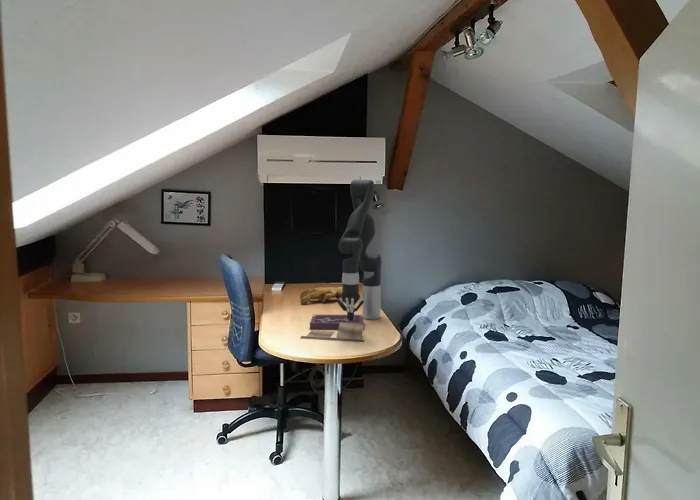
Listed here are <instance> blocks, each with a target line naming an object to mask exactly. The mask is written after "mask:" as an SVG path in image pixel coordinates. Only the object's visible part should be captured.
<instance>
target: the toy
mask: <svg viewBox="0 0 700 500" xmlns="http://www.w3.org/2000/svg"><path fill="white" fill-rule="evenodd" d="M341 295H342V285H341V286H338V287H334V286H333V287H332V286H330V287H329V286H328V287H315V288H310V289H306V290H304V291H302V292H301V293H300V304H301V305H306V304H308V302H309V301H311V300H319V299H320V301H321V303H322V304H323V303H324V302H325V301H326V300H330V299H335V298H336V299H337V300H338V299H339V298H341Z"/></svg>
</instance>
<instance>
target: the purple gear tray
mask: <svg viewBox="0 0 700 500" xmlns="http://www.w3.org/2000/svg"><path fill="white" fill-rule="evenodd" d="M364 319H365V318H364V315H363V313H362V314H360V313H359V314H357V313H354V319H353V320H352V321H349V319H347V314H318V313H317V314H316V313H315V314H314V313H313V314H312V317H311V319H310V322H309V330H310V331H311V330H313V331H328V330H329V331H330V330H331V331H333V330H335V331H336V330H337V331H338V328H339V324H340V323H358V324H365V323H364Z"/></svg>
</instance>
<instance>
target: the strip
mask: <svg viewBox="0 0 700 500" xmlns="http://www.w3.org/2000/svg"><path fill="white" fill-rule="evenodd" d="M299 339H301V340H302V339H303V340H315V341H316V340H318V341H334V342H335V341H336V342H348V343H350V342H352V343H365V339H362V338H361V339H346V338H336V337H330V338H329V337H312V336H307V335H301V336H300V338H299Z"/></svg>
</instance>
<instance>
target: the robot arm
mask: <svg viewBox="0 0 700 500" xmlns="http://www.w3.org/2000/svg"><path fill="white" fill-rule="evenodd" d="M349 186H350V187H349V188H350V196H351V202H352V207H353V211H352V212H351V214H350V216H349V218H348V221H347V226H346V229H345V231H344V232H343V234H342V236H341V237H340V238H339V241H338V250H339V252H340V253H341V254H348V255H349V254H353V255H352V257H350V258H345V259H343V261H342V277H341V282H342V283H341V286H342V295H341V298H339V299H337V300H336V303H337V304H338V306H339V307H340V308H341V309H342V311H344V312H346V315H347V319H349V321H352V320H353V319H354V315H355V313H356V312H357V311H358V310H359V309H360V308H361V307H362V315H364V319H366V320H378V319H381V287H382V285H381V283H382V281H381V279H382V277H381V275H382V274H381V273H382V256H381V254H377V253H367V249H368V246H369V245H370V244H371V242H372V240H373V239H374V237H375V234H376V227H375V220H374V218H373V216H372V215H371V214H370V213H369V209H370V207H371V204H372V202H373V199H374V196H375V191H376V188H375V187H376V185H375V182H374V181H373V180H372V179H371V180H370V179H353V180H352V181H351V182H350V185H349ZM359 268H360V270H361V271H362V272H363V273H365V272H366V273H367V272H368V273H373V274H372V275H371V276H369V277H366V278H363V280H362V298H361V296H360V274H359ZM356 304H358V305H357V306H356ZM355 306H356V307H355Z"/></svg>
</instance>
